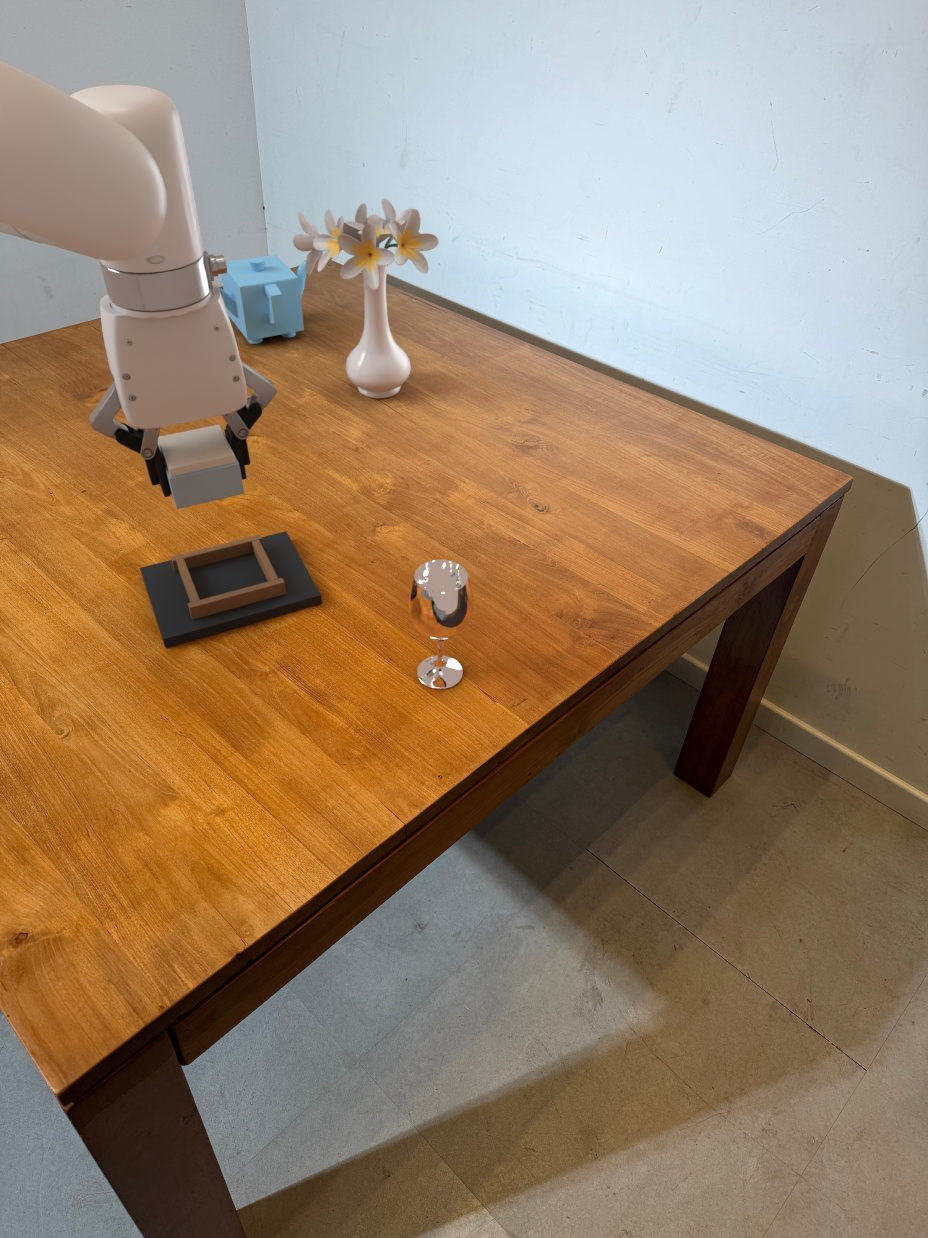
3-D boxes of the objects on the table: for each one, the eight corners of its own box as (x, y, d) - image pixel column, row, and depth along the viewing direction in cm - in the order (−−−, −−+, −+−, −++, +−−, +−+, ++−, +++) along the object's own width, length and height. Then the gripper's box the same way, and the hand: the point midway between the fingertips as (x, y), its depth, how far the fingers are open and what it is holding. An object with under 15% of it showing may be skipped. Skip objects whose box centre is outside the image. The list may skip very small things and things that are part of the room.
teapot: (201, 321, 136) (188, 249, 128) (306, 303, 143) (299, 234, 135) (230, 361, 126) (217, 286, 118) (341, 340, 132) (336, 267, 125)
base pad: (165, 648, 81) (159, 627, 79) (142, 576, 89) (136, 555, 87) (322, 603, 87) (319, 583, 85) (287, 539, 94) (284, 519, 93)
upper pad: (176, 509, 73) (167, 470, 70) (163, 474, 77) (153, 436, 74) (244, 493, 75) (237, 455, 72) (228, 460, 79) (220, 422, 76)
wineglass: (417, 699, 77) (416, 603, 69) (403, 656, 81) (401, 560, 73) (476, 688, 78) (482, 592, 70) (460, 646, 83) (464, 551, 74)
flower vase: (319, 366, 126) (302, 186, 109) (441, 372, 125) (443, 193, 108) (302, 408, 116) (280, 218, 99) (433, 415, 116) (434, 226, 99)
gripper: (256, 248, 68) (283, 440, 81) (31, 278, 63) (97, 480, 75) (283, 281, 64) (307, 480, 76) (41, 317, 58) (110, 526, 70)
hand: (202, 478), depth 75 cm, fingers closed on upper pad, 6 cm apart
